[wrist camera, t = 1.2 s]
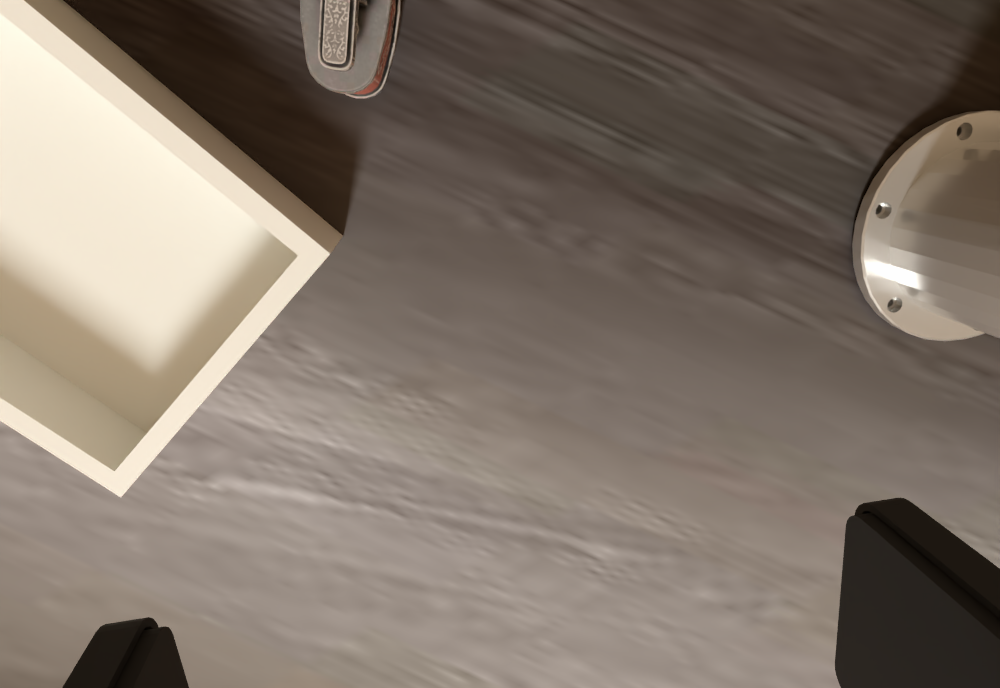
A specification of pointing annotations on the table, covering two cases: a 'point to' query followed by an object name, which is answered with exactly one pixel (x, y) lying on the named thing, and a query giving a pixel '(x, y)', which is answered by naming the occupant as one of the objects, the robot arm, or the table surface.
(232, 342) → the tote
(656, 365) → the table surface
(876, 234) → the robot arm
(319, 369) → the table surface
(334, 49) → the lighter
